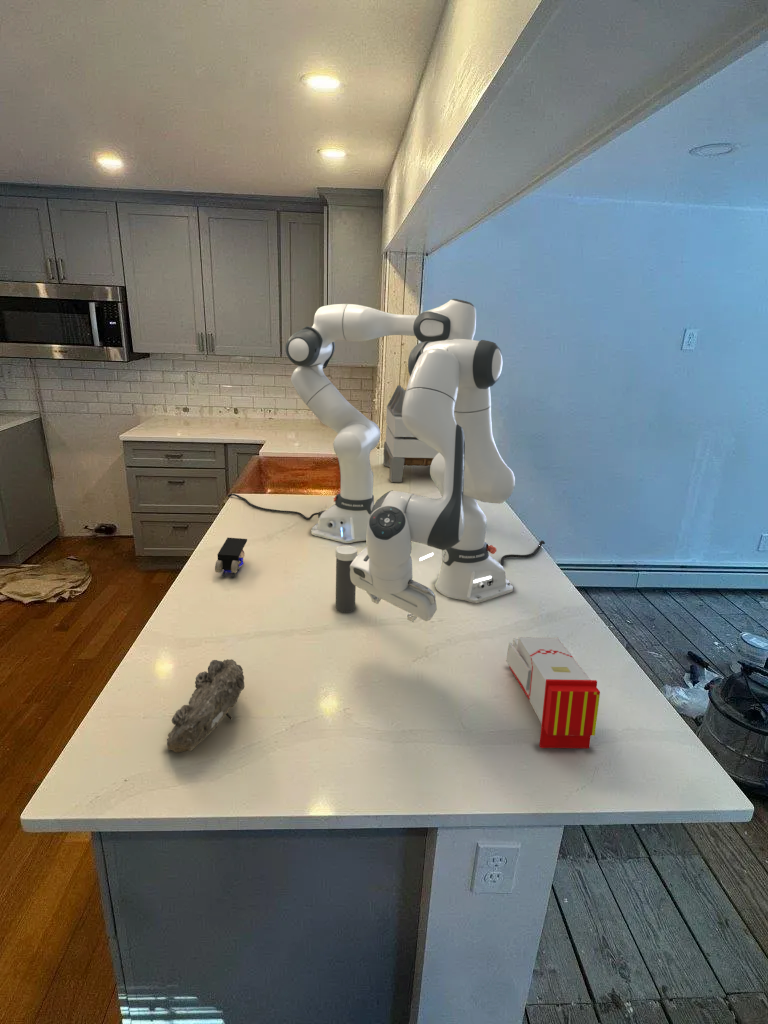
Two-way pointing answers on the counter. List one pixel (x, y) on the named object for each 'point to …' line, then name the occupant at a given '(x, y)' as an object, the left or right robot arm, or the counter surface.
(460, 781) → the counter surface
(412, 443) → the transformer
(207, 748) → the counter surface
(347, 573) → the dark gray cylinder
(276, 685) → the counter surface
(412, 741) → the counter surface
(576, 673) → the toy
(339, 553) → the lid
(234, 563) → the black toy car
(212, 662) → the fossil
